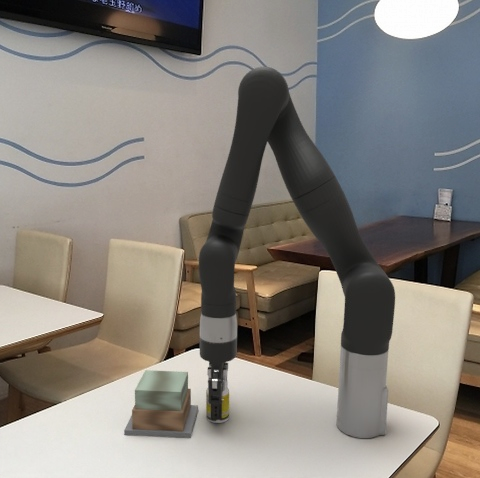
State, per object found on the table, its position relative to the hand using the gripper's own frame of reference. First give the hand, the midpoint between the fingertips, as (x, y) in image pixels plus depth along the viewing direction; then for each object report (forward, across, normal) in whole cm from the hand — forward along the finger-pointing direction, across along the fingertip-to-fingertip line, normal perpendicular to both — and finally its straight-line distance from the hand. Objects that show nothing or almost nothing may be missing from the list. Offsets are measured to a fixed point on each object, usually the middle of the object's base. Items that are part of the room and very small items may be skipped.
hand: (217, 411), depth 113 cm
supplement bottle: (+2, 0, 0) cm, 2 cm away
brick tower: (+1, -2, +11) cm, 11 cm away
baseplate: (+1, -2, +11) cm, 11 cm away
